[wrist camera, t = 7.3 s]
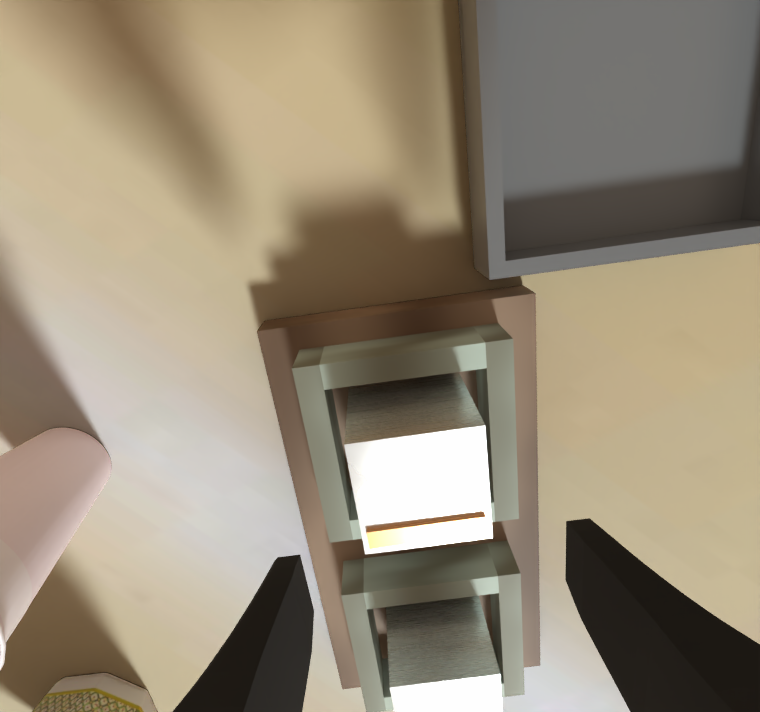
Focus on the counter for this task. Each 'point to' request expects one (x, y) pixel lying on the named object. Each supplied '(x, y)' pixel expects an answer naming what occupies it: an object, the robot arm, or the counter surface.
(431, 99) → the counter surface
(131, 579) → the counter surface
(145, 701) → the ceramic cup
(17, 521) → the smoothie
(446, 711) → the billet
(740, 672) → the robot arm
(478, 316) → the double pocket tray
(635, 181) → the gray square tray
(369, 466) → the block
